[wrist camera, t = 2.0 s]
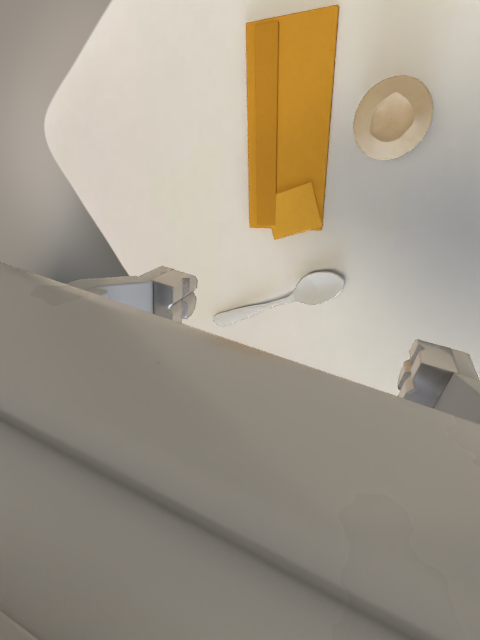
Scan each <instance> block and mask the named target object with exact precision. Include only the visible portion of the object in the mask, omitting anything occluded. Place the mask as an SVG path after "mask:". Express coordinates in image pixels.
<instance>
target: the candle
mask: <svg viewBox="0 0 480 640" xmlns="http://www.w3.org/2000/svg"><path fill="white" fill-rule="evenodd" d="M432 115H433V102H432V98H431V95H430V92H429V90H428V89H427V87H426V86H425V85H424V84H423V83H422V82H421V81H419V80H418V79H416V78H413V77H410V76H394V77H390V78H387V79H385V80H383V81H381V82H380V83H378V84H376V85H375V86H374V87H373V88H372V89H371V90H369V91H368V93H367V94H366V95H365V96H364V98H363V99H362V101H361V102H360V104H359V106H358V108H357V111H356V114H355V118H354V126H353V128H354V136H355V140H356V142H357V144H358V146H359V147H360V149H361V150H362V151H363V152H364V153H365V154H366V155H368V156H370V157H372V158H374V159H379V160H391V159H395V158H398V157H401V156H403V155H405V154H406V153H408V152H410V151H411V150H412V149H413V148H415V147H416V146H417V145H418V144H419V142H420V141H421V140H422V139H423V137H424V136H425V134H426V133H427V131H428V129H429V126H430V124H431V120H432Z"/></svg>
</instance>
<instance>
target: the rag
mask: <svg viewBox="0 0 480 640" xmlns="http://www.w3.org/2000/svg"><path fill="white" fill-rule="evenodd" d="M338 13H339V6H338V5H333V6H328V7H323V8H318V9H313V10H308V11H304V12H299V13H294V14H289V15H284V16H279V17H274V18H269V19H264V20H259V21H254V22H249V23H246V55H247V111H248V167H249V223H250V227H251V228H271V229H272V233H273V236H274V239H279V238H283V237H286V236H290V235H293V234H297V233H300V232H304V231H307V230H322V226H323V224H322V223H323V210H324V197H325V184H326V170H327V157H328V144H329V131H330V118H331V105H332V92H333V79H334V65H335V52H336V39H337V26H338Z"/></svg>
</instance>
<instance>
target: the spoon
mask: <svg viewBox="0 0 480 640" xmlns="http://www.w3.org/2000/svg"><path fill="white" fill-rule="evenodd" d="M344 283H345V281H344V279H343V278H342V277H341V276H339V275H338V274H336V273H333V272H325V271H322V272H314V273H310V274H308V275H306V276H304V277H303V278H302V279H301V280H300V281H299V282H298V284H297V286H296V288H295V290H294V291H293V293H292V294H291V295H290V296H288V297H285V298H282V299H279V300H276V301H273V302H269V303H265V304H260V305H253V306H247V307H242V308H238V309H234V310H230V311H227V312H223V313H219V314H217V315H216V316H215V317H214V320H213V321H214V323H215V324H216V325H218V326H226V325H229V324H232V323H234V322H237V321H240V320H243V319H246V318H248V317H250V316H253V315H255V314H257V313H260V312H262V311H264V310H266V309H269V308H272V307H275V306H278V305H281V304H285V303H290V302H300V303H304V304H310V305H315V304H321V303H324V302H326V301H328V300H330V299H332V298H334V297H335V296H337V295H338V294H339V293H340V292H341V291H342V290H343V287H344Z"/></svg>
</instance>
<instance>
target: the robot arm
mask: <svg viewBox="0 0 480 640" xmlns="http://www.w3.org/2000/svg"><path fill="white" fill-rule="evenodd" d="M196 288H197V278H196V276H193V275H190V274H187V273H183V272H180V271H177V270H174V269H172V268H168V267H164V266H161V267H158V268H156V269H154V270H152V271H150V272H148V273H145V274H143V275H141V276H139V277H138V276H125V277H110V278H96V279H81V280H75V281H72V282H70V283H67V284H64V283H60V282H57V281H55V280H52V279H49V278H46V277H43V276H40V275H37V274H34V273H31V272H28V271H25V270H22V269H19V268H16V267H13V266H10V265H7V264H5V263H1V262H0V640H480V381H479V378H478V376H477V373H476V371H475V368H474V366H473V363H472V361H471V358H470V355H469V354H468V353H465V352H461V351H457V350H453V349H451V348H448V347H444V346H440V345H436V344H433V343H429V342H425V341H421V340H415V341H414V343H413V344H412V347H411V349H410V351H409V352H410V359H409V360H407V361H405V362H404V364H403V366H402V369H401V371H400V375H399V378H398V389H399V390H400V393H399V395H398V396H395V395H392V394H389V393H386V392H383V391H380V390H377V389H374V388H371V387H368V386H365V385H362V384H359V383H356V382H353V381H350V380H347V379H344V378H342V377H339V376H336V375H333V374H330V373H327V372H324V371H321V370H318V369H315V368H312V367H309V366H306V365H303V364H300V363H297V362H294V361H291V360H288V359H285V358H282V357H279V356H277V355H274V354H271V353H268V352H265V351H262V350H259V349H256V348H253V347H250V346H247V345H244V344H241V343H238V342H235V341H232V340H229V339H226V338H223V337H220V336H217V335H214V334H211V333H209V332H206V331H203V330H200V329H197V328H194V327H191V326H188V325H185V324H182V323H181V321H182V319H186V318H188V317H190V316H191V315H192V313H193V311H194V309H195V306H196V296H195V294H194V291H195V289H196Z"/></svg>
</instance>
